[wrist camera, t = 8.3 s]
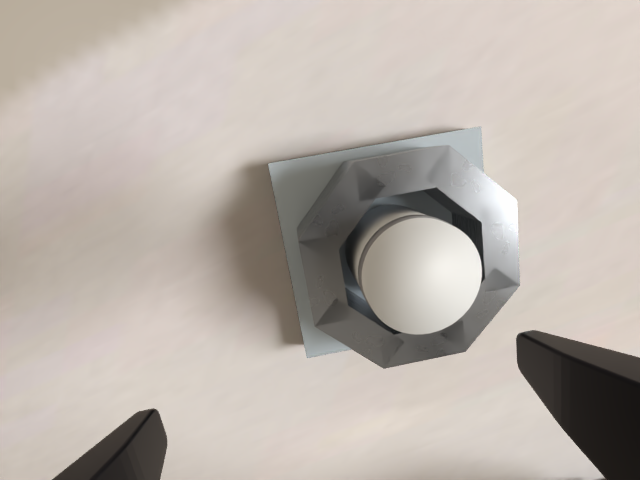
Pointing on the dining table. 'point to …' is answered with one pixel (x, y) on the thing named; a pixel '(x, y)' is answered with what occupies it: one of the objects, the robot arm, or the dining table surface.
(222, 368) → the dining table surface
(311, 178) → the piston base
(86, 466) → the robot arm
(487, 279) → the steel ring
